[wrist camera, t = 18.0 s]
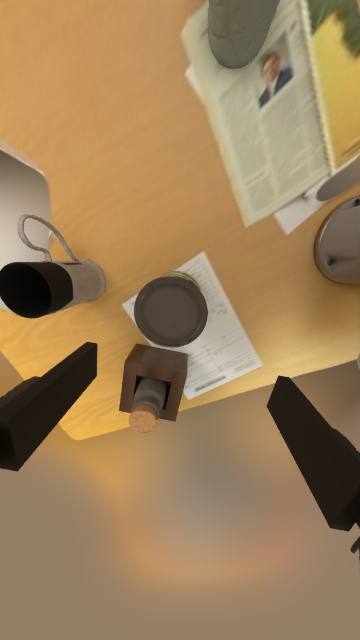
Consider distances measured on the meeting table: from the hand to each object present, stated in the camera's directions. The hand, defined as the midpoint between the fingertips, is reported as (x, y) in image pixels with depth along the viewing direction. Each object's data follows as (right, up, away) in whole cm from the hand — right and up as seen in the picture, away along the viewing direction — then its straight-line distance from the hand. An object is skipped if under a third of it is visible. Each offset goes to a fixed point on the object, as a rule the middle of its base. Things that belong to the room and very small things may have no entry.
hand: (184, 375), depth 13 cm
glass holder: (-20, +15, +25) cm, 35 cm away
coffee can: (-1, +9, +26) cm, 27 cm away
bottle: (-6, -8, +31) cm, 33 cm away
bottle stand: (-6, -8, +31) cm, 33 cm away
